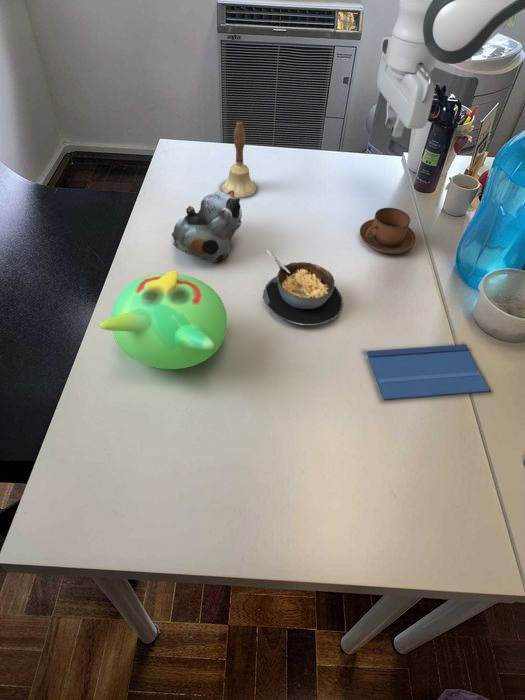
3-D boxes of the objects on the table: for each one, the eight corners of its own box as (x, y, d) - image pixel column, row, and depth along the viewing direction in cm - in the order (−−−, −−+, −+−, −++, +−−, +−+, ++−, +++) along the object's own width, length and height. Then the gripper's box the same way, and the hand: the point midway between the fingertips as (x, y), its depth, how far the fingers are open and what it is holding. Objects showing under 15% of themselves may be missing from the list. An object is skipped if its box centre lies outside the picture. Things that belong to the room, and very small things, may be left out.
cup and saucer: (393, 266, 97) (402, 241, 93) (347, 240, 102) (352, 216, 98) (423, 242, 103) (432, 218, 99) (378, 219, 108) (384, 195, 104)
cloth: (464, 346, 83) (465, 343, 83) (488, 391, 77) (490, 389, 77) (366, 352, 81) (367, 350, 81) (383, 400, 75) (384, 397, 74)
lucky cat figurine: (171, 228, 102) (195, 166, 96) (222, 249, 106) (248, 191, 99) (167, 253, 89) (193, 184, 83) (225, 276, 93) (254, 211, 87)
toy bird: (231, 320, 85) (231, 255, 74) (220, 397, 74) (218, 333, 63) (132, 312, 85) (117, 246, 74) (106, 388, 74) (84, 322, 63)
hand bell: (258, 197, 112) (261, 130, 100) (223, 198, 111) (222, 130, 99) (253, 179, 117) (256, 113, 105) (220, 180, 116) (219, 113, 104)
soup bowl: (287, 340, 82) (291, 310, 77) (247, 285, 91) (248, 254, 86) (357, 315, 87) (366, 285, 82) (312, 265, 96) (317, 234, 91)
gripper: (451, 76, 79) (425, 155, 89) (410, 36, 92) (392, 110, 102) (415, 76, 78) (393, 156, 88) (379, 36, 91) (364, 110, 102)
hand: (392, 131), depth 95 cm, fingers open, 3 cm apart
